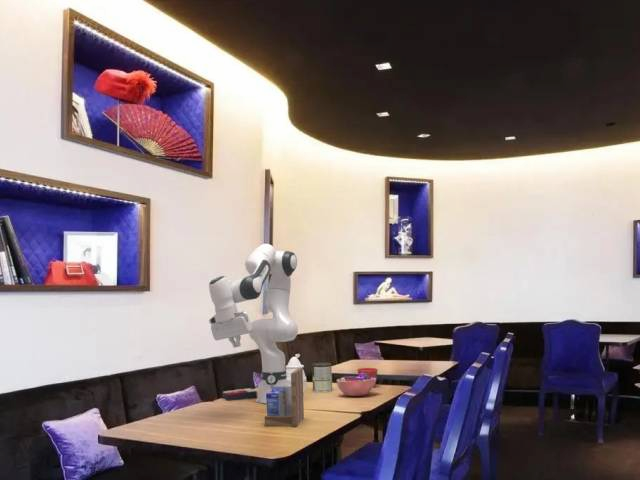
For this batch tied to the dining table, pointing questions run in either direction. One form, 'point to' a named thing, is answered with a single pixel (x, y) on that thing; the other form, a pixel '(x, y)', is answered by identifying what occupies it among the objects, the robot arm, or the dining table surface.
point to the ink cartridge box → (275, 402)
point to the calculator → (239, 394)
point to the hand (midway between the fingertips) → (237, 346)
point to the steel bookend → (287, 399)
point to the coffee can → (322, 377)
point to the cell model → (356, 384)
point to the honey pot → (293, 366)
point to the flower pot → (369, 372)
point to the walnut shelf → (296, 403)
